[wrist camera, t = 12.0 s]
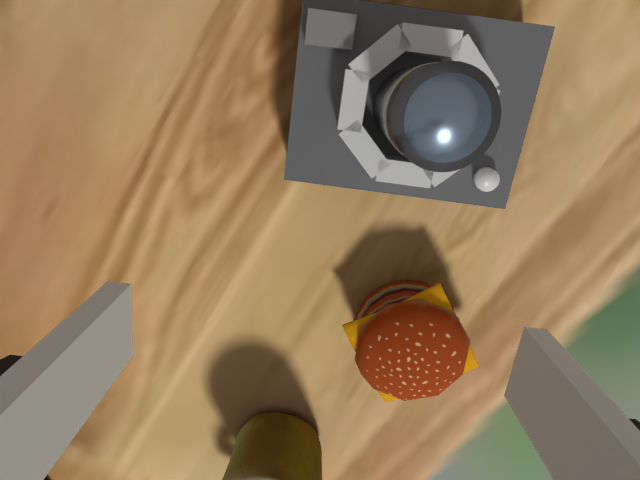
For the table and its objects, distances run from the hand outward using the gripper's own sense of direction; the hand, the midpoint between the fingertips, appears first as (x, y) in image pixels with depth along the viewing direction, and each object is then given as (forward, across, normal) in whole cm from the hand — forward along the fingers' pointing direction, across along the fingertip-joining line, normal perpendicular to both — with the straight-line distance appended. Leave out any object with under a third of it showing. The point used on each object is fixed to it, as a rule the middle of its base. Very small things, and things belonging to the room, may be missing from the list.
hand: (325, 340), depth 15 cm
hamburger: (+24, +9, -12) cm, 28 cm away
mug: (+24, -2, -28) cm, 38 cm away
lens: (+18, +5, +7) cm, 20 cm away
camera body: (+23, +5, +8) cm, 25 cm away
